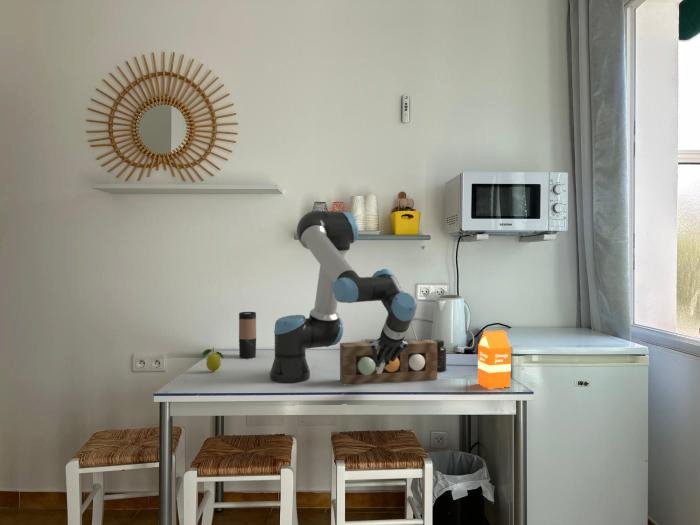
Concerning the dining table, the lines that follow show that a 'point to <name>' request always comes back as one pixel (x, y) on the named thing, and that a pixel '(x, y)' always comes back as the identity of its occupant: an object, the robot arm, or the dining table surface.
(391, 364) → the button orange
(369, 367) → the button sage
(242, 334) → the travel mug
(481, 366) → the orange juice
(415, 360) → the button ivory
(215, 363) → the lemon
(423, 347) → the control box
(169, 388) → the dining table surface
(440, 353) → the supplement bottle
